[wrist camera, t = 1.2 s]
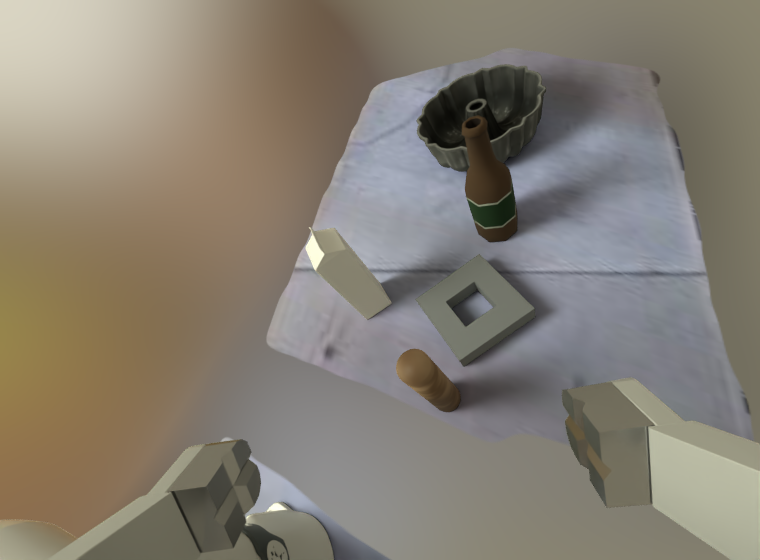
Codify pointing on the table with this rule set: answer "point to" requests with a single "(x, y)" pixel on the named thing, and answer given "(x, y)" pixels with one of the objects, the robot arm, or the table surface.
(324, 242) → the milk
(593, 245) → the table surface
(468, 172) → the beer bottle
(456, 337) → the socket block
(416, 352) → the dowel
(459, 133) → the bundt pan
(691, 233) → the table surface
